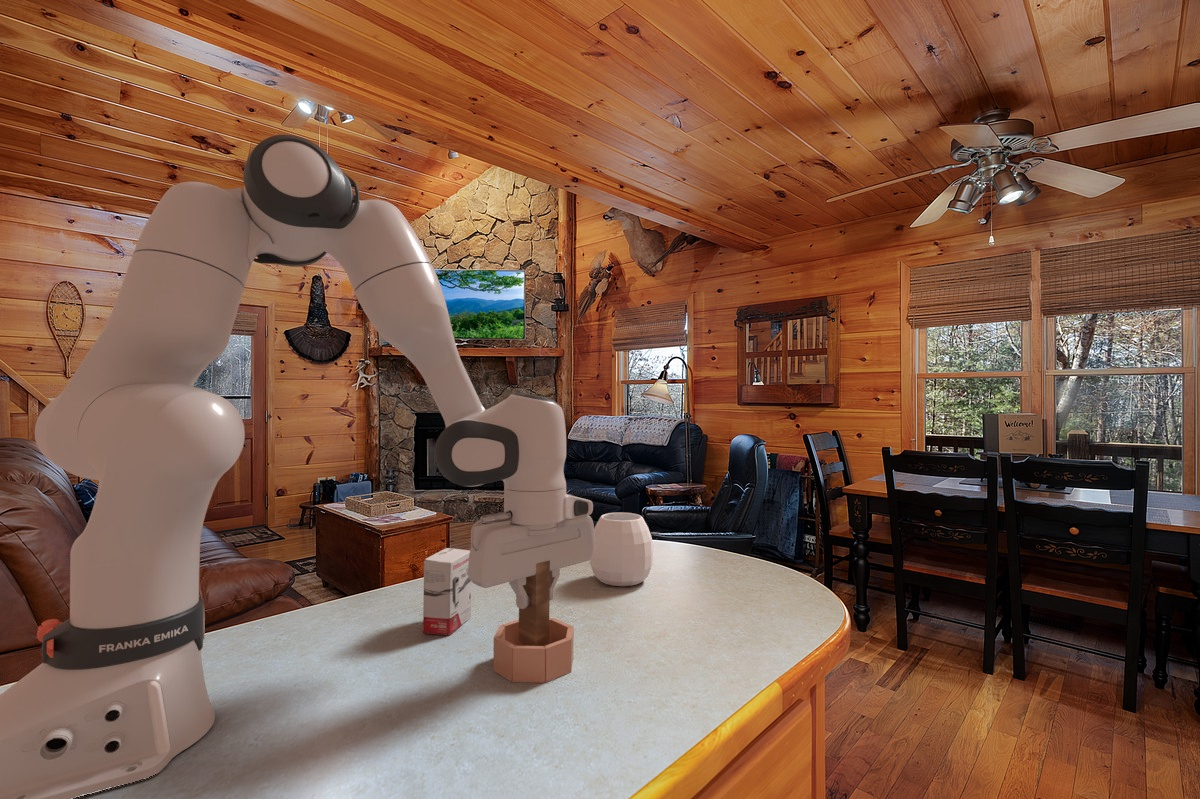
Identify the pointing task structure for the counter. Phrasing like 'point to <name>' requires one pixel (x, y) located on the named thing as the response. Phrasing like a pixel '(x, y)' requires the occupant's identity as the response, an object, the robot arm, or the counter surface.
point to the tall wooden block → (536, 608)
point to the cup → (622, 549)
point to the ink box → (446, 591)
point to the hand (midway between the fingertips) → (534, 603)
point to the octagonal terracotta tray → (533, 653)
